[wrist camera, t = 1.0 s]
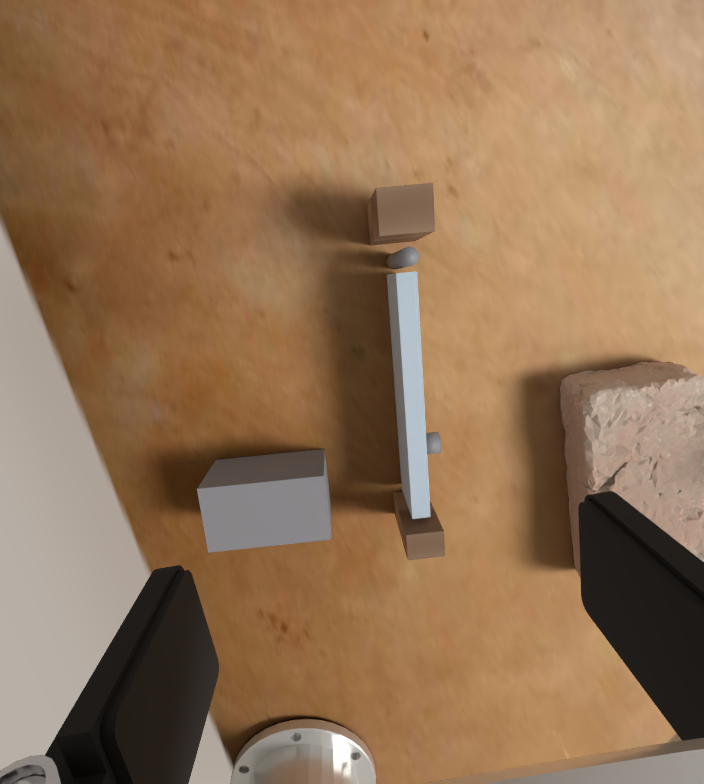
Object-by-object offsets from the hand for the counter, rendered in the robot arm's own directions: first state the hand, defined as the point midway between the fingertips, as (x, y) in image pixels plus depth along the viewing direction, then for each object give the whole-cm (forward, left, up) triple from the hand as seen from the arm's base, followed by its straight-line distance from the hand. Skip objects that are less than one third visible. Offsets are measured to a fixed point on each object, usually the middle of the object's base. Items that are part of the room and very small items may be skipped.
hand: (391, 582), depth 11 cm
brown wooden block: (+10, -4, -22) cm, 25 cm away
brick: (-9, -20, -23) cm, 31 cm away
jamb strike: (-10, -4, -22) cm, 24 cm away
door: (0, -4, -22) cm, 22 cm away
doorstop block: (-7, +6, -22) cm, 24 cm away
